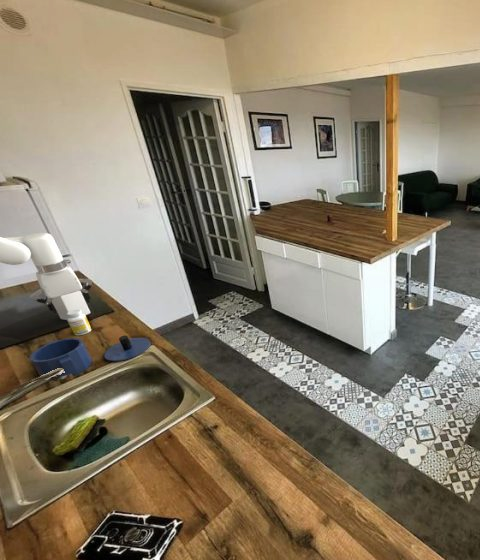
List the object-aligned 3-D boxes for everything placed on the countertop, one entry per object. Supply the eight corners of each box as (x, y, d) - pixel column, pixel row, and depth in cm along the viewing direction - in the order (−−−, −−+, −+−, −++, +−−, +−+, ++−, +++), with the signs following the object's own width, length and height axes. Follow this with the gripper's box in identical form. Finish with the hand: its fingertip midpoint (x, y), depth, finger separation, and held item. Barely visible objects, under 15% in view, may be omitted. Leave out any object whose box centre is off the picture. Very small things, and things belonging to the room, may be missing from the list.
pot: (49, 391, 98) (36, 370, 94) (35, 368, 107) (23, 348, 103) (99, 369, 107) (90, 349, 104) (83, 350, 116) (73, 331, 113)
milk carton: (60, 319, 135) (40, 280, 127) (79, 311, 141) (60, 273, 133) (73, 321, 133) (53, 282, 125) (90, 313, 140) (73, 275, 131)
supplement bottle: (83, 336, 124) (73, 315, 120) (70, 335, 124) (60, 315, 120) (95, 328, 129) (86, 308, 125) (82, 328, 129) (73, 308, 125)
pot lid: (113, 367, 108) (106, 353, 105) (99, 353, 115) (93, 339, 112) (157, 348, 118) (152, 334, 116) (142, 335, 125) (137, 323, 122)
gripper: (79, 257, 123) (96, 295, 130) (15, 272, 110) (38, 313, 117) (85, 261, 119) (102, 300, 126) (19, 277, 106) (43, 319, 113)
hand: (71, 306), depth 122 cm, fingers open, 9 cm apart
